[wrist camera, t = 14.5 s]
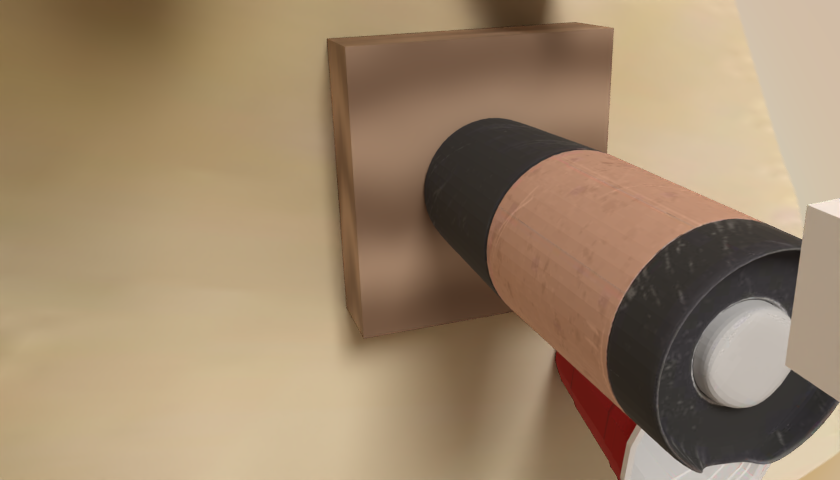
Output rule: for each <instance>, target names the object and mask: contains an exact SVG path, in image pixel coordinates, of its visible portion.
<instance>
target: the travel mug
mask: <svg viewBox="0 0 840 480" xmlns="http://www.w3.org/2000/svg"><path fill="white" fill-rule="evenodd" d="M424 195H425V204H426V208H427V212H428V215H429V217H430V220H431V221H432V223H433V225H434V227H435V228H436V229H437V231H438V232H439V233H440V235H441V236H442V237H443V238H444V239H445V240H446V241H447V242H448V244H449V245H450V246H451V247H452V248H453V249H454V250H455V251H456V252H457V253H458V254H459V255H460V256H461V257H462V258H463V259H464V260H465V262H466V263H467V264H468V265H469V266H470V267H471V268H472V269H473V270H474V271H475V272H476V273H477V274H478V275H479V276H480V277H481V278H482V279H483V281H484V282H485V283H486V284H487V285H488V286H489V287H490V288H491V289H492V290H493V291H494V292H495V293H496V294H497V295H498V296H499V297H500V298H501V299H502V300H503V301H504V302H505V303H506V304H507V305H508V306H509V307H510V308H511V309H512V310H513V311H514V312H515V313H516V314H517V315H518V316H519V317H520V318H522V319H523V320H524V321H525V322H526V323H527V324H528V325H529V326H530V327H531V328H532V329H533V330H535V331H536V332H537V333H538V334H539V335H540V336H541V337H542V338H543V339H544V340H545V341H547V342H548V343H549V344H550V345H551V346H552V347H553V348H554V349H555V350H556V351H557V352H559V353H560V354H561V355H562V356H563V357H564V358H565V359H566V360H567V361H568V362H569V363H571V364H572V365H573V366H574V367H575V368H576V369H577V370H578V371H579V372H580V373H581V374H583V375H584V376H585V377H586V378H587V379H588V380H589V381H590V382H591V383H592V384H593V385H595V386H596V387H597V388H598V389H599V390H600V391H601V392H602V393H603V394H604V395H605V396H607V397H608V398H609V399H610V400H611V401H612V402H613V403H614V404H615V405H616V406H617V407H619V408H620V409H621V410H622V411H623V412H624V413H625V414H626V415H627V416H628V417H629V418H631V419H632V420H633V421H634V422H635V423H636V424H637V425H638V426H639V427H640V428H641V429H642V430H644V431H645V432H646V433H647V434H648V435H649V436H650V437H651V438H652V439H653V440H654V441H655V442H657V443H658V444H659V445H660V446H661V447H662V448H663V449H664V450H665V451H666V452H668V453H669V454H670V455H671V456H672V457H673V458H674V459H676V460H677V461H678V462H680V463H681V464H682V465H684V466H686V467H687V468H689V469H691V470H692V471H695V472H697V473H703V469H704V468H706V467H708V466H713V465H720V464H727V463H737V462H749V463H755V464H762V465H764V464H770V463H773V462H775V461H778V460H780V459H781V458H783V457H785V456H786V455H788V454H790V453H791V452H792V451H794V450H795V449H796V448H798V447H799V446H800V445H801V444H803V443H804V442H805V441H806V440H807V439H808V438H809V437H811V436H812V435H813V434H814V433H815V432H816V431H817V430H818V429H819V428H820V426H821V425H822V424H823V423H824V422H825V421H826V419H827V418H828V417H829V416H830V415H831V413H832V412H833V411H834V409H835V408H836V406H837V405H838V403H839V401H837V400H836V399H834V398H833V397H831V396H830V395H828V394H827V393H825V392H824V391H822V390H821V389H819V388H818V387H816V386H815V385H814V384H812V383H811V382H809V381H808V380H806V379H805V378H803V377H802V376H800V375H799V374H797V373H796V372H794V371H793V370H791V369H790V368H788V367H787V366H785V361H786V354H787V347H788V339H789V332H790V325H791V318H792V311H793V303H794V296H795V289H796V282H797V275H798V267H799V260H800V253H801V246H802V239H800V238H798V237H795V236H793V235H791V234H788V233H786V232H784V231H782V230H779V229H777V228H775V227H773V226H770V225H768V224H766V223H763V222H761V221H759V220H757V219H754V218H752V217H750V216H748V215H745V214H743V213H741V212H738V211H736V210H734V209H732V208H729V207H727V206H725V205H723V204H720V203H718V202H716V201H714V200H711V199H709V198H707V197H704V196H702V195H700V194H698V193H695V192H693V191H691V190H689V189H686V188H684V187H682V186H680V185H677V184H675V183H673V182H670V181H668V180H666V179H664V178H661V177H659V176H657V175H655V174H652V173H650V172H648V171H646V170H643V169H641V168H639V167H636V166H634V165H632V164H630V163H627V162H625V161H623V160H621V159H618V158H616V157H614V156H611V155H609V154H606V153H604V152H602V151H599V150H596V149H593V148H590V147H588V146H585V145H582V144H579V143H576V142H574V141H571V140H568V139H565V138H563V137H560V136H557V135H554V134H551V133H549V132H546V131H543V130H540V129H537V128H535V127H532V126H529V125H526V124H523V123H520V122H517V121H513V120H509V119H503V118H487V119H481V120H478V121H474V122H471V123H469V124H467V125H465V126H463V127H461V128H460V129H458V130H457V131H455V132H454V133H453V134H451V135H450V136H449V137H448V138H447V139H446V140H445V141H444V142H443V143H442V145H441V146H440V147H439V149H438V150H437V151H436V153H435V155H434V157H433V158H432V160H431V163H430V165H429V168H428V171H427V174H426V179H425V188H424Z"/></svg>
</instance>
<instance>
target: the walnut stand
mask: <svg viewBox="0 0 840 480" xmlns="http://www.w3.org/2000/svg"><path fill="white" fill-rule="evenodd" d="M613 32H614V28H609V27H603V26H596V25H590V24H583V23H577V22H572V23H557V24H542V25H527V26H512V27H497V28H482V29H466V30H451V31H436V32H421V33H406V34H391V35H376V36H361V37H346V38H331V39H327V43H328V57H329V71H330V85H331V99H332V112H333V126H334V140H335V154H336V168H337V182H338V196H339V209H340V223H341V237H342V251H343V265H344V279H345V292H346V306H347V309H348V311H349V313H350V315H351V316H352V318H353V320H354V322H355V324H356V325H357V327H358V329H359V331H360V332H361V334H362V336H363V338H369V337H375V336H380V335H386V334H392V333H397V332H403V331H408V330H414V329H419V328H425V327H431V326H436V325H442V324H447V323H453V322H458V321H464V320H470V319H475V318H481V317H486V316H492V315H497V314H503V313H509V312H514V311H513V310H512V309H511V308H510V307H509V306H508V305H507V304H506V303H505V302H504V301H503V300H502V299H501V298H500V297H499V296H498V295H497V294H496V293H495V292H494V291H493V290H492V289H491V288H490V287H489V286H488V285H487V284H486V283H485V282H484V281H483V279H482V278H481V277H480V276H479V275H478V274H477V273H476V272H475V271H474V270H473V269H472V268H471V267H470V266H469V265H468V264H467V263H466V262H465V260H464V259H463V258H462V257H461V256H460V255H459V254H458V253H457V252H456V251H455V250H454V249H453V248H452V247H451V246H450V245H449V244H448V242H447V241H446V240H445V239H444V238H443V237H442V236H441V235H440V233H439V232H438V231H437V229H436V228H435V227H434V225H433V223H432V221H431V220H430V217H429V215H428V212H427V208H426V204H425V195H424V188H425V179H426V174H427V171H428V168H429V165H430V163H431V160H432V158H433V157H434V155H435V153H436V151H437V150H438V149H439V147H440V146H441V145H442V143H443V142H444V141H445V140H446V139H447V138H448V137H449V136H450V135H451V134H453V133H454V132H455V131H457V130H458V129H460V128H461V127H463V126H465V125H467V124H469V123H471V122H474V121H478V120H481V119H487V118H503V119H509V120H513V121H517V122H520V123H523V124H526V125H529V126H532V127H535V128H537V129H540V130H543V131H546V132H549V133H551V134H554V135H557V136H560V137H563V138H565V139H568V140H571V141H574V142H576V143H579V144H582V145H585V146H588V147H590V148H593V149H596V150H599V151H602V152H604V153H606V154H607V142H608V124H609V106H610V87H611V69H612V51H613Z"/></svg>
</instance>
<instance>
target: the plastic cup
mask: <svg viewBox="0 0 840 480" xmlns="http://www.w3.org/2000/svg"><path fill="white" fill-rule="evenodd" d="M555 361H556V364H557V368H558V372H559V374H560V377H561V381H562V382H563V384H564V385H565V387H566V389H567V390H568V392H569V394H570V395H571V397H572V399H573V400H574V403H575V406H576V408H577V410H578V411H579V413H580V415H581V416H582V418H583V420H584V421H585V423H586V424H587V426H588V428H589V429H590V431H591V433H592V434H593V436H594V438H595V439H596V441H597V442H598V444H599V446H600V447H601V449H602V451H603V452H604V454H605V456H606V457H607V459H608V460H609V463H610V467H611V468H612V470H613V471H614V473H615V474H616V476H617V479H618V480H762V478H763V476H764V475H765V473H766V471H767V470H768V468H769V466H770V465H771V463H770V464H764V465H762V464H755V463H749V462H737V463H727V464H720V465H713V466H708V467H706V468H704V469H703V473H697V472H695V471H692V470H691V469H689V468H687V467H686V466H684V465H682V464H681V463H680V462H678V461H677V460H676V459H674V458H673V457H672V456H671V455H670V454H669V453H668V452H666V451H665V450H664V449H663V448H662V447H661V446H660V445H659V444H658V443H657V442H655V441H654V440H653V439H652V438H651V437H650V436H649V435H648V434H647V433H646V432H645V431H644V430H642V429H641V428H640V427H639V426H638V425H637V424H636V423H635V422H634V421H633V420H632V419H631V418H629V417H628V416H627V415H626V414H625V413H624V412H623V411H622V410H621V409H620V408H619V407H617V406H616V405H615V404H614V403H613V402H612V401H611V400H610V399H609V398H608V397H607V396H605V395H604V394H603V393H602V392H601V391H600V390H599V389H598V388H597V387H596V386H595V385H593V384H592V383H591V382H590V381H589V380H588V379H587V378H586V377H585V376H584V375H583V374H581V373H580V372H579V371H578V370H577V369H576V368H575V367H574V366H573V365H572V364H571V363H569V362H568V361H567V360H566V359H565V358H564V357H563V356H562V355H561V354H560V353H559V352H556V359H555Z"/></svg>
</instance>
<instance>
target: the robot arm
mask: <svg viewBox="0 0 840 480" xmlns="http://www.w3.org/2000/svg"><path fill="white" fill-rule="evenodd" d="M785 366H787V367H788V368H790V369H791V370H793V371H794V372H796V373H797V374H799V375H800V376H802V377H803V378H805V379H806V380H808V381H809V382H811V383H812V384H814V385H815V386H816V387H818V388H819V389H821V390H822V391H824V392H825V393H827V394H828V395H830V396H831V397H833V398H834V399H836V400H837V401H839V402H840V198H839V199H834V200H829V201H824V202H819V203H814V204H809V205H807V210H806V217H805V224H804V231H803V239H802V246H801V253H800V260H799V267H798V275H797V282H796V289H795V296H794V303H793V311H792V318H791V325H790V332H789V339H788V347H787V354H786V361H785Z"/></svg>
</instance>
